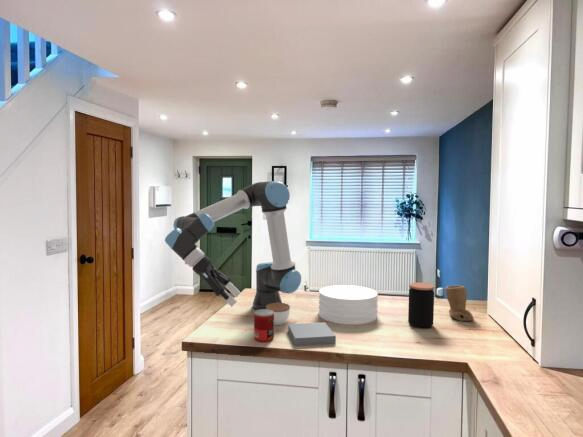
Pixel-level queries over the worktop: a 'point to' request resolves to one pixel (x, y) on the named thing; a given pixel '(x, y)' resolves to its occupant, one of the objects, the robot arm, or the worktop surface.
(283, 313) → the lidded jar
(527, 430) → the worktop surface
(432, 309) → the coffee jar
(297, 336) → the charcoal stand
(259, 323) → the canned food
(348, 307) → the plate stack
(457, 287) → the brown boot
